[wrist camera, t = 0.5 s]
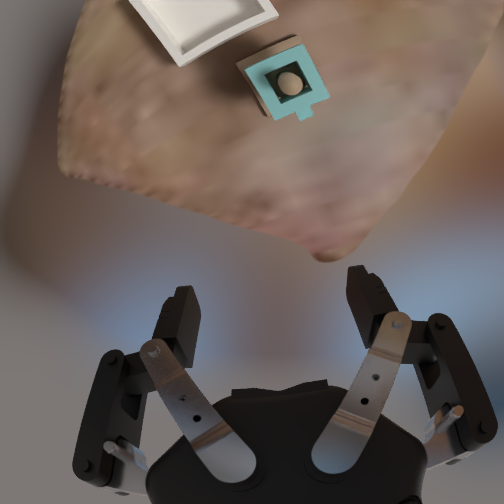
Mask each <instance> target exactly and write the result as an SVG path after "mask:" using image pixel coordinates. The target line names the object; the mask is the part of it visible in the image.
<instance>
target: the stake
mask: <svg viewBox="0 0 504 504" xmlns="http://www.w3.org/2000/svg"><path fill="white" fill-rule="evenodd" d="M299 44H303V43H302V41H301V39H300V37H299V36H298V35H297V36H295V37H292V38H290V39H287V40H285V41H282V42H280V43H277V44H275V45H273V46H271V47H268V48H266V49H264V50H262V51H260V52H257V53H255V54H253V55H251V56H249V57H247V58H245V59H243V60H241V61H239V62H237V63H235V64H236V65H237V67H238V68H239V70H240V72H241V73H242V75H243V76H244V78H245V79H246V81H247V83H248V84H249V86H250V87H251V89H252V91H253V92H254V94H255V96H256V97H257V99H258V101H259V102H260V104H261V106H262V107H263V109H264V111H265V112H266V114H267V116H268V118H270V117H272V115H271V113H270V111H269V109H268V108H267V106H266V104H265V102H264V101H263V99H262V97H261V96H260V94H259V92H258V91H257V89H256V87H255V86H254V84H253V83H252V81H251V79H250V78H249V76H248V75H247V73H246V71H245V69H246V68H247V67H249V66H251V65H253V64H255V63H257V62H259V61H261V60H264V59H266V58H268V57H270V56H272V55H275V54H277V53H279V52H282V51H284V50H286V49H289V48H291V47H294V46H296V45H299ZM303 45H304V44H303ZM304 47H305V46H304ZM305 49H306V48H305ZM307 52H308V51H307ZM308 54H309V53H308ZM309 56H310V55H309ZM310 58H311V57H310ZM314 65H315V64H314ZM315 67H316V66H315ZM316 69H317V68H316ZM317 71H318V70H317ZM318 73H319V72H318ZM319 75H320V74H319ZM265 76H266V78H267V79H268V81H269V83H270V84H271V86H272V88H273V90H274V91H275V93H276V95H277V97H278V98H279V99H280V98H282V97H284V96H287V95H296V94H298V93H299V92H300V91H301V90H302V89H303V88H305V87H308V86H307V84H306V82H305V80H304V79H303V77H302V75H301V73H300V71H299V69H298V67H297V66H296V64H295V62H292V63H289V64H287V65H285V66H282V67H280V68H278V69H275V70H273V71H271V72H269V73H267V74H265ZM320 77H321V76H320ZM321 79H322V78H321ZM322 81H323V80H322ZM323 83H324V82H323ZM324 85H325V84H324ZM325 87H326V86H325ZM326 89H327V88H326ZM327 91H328V90H327Z"/></svg>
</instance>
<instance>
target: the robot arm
mask: <svg viewBox="0 0 504 504" xmlns="http://www.w3.org/2000/svg"><path fill="white" fill-rule="evenodd" d="M346 296H347V301H348V304H349V306H350V308H351V311H352V314H353V316H354V319H355V322H356V324H357V327H358V329H359V332H360V335H361V338H362V340H363V343H364V346H365V348H366V349H368V348H370V349H369V351H368V353H367V355H366V357H365V359H364V361H363V363H362V365H361V367H360V369H359V371H358V373H357V375H356V377H355V379H354V381H353V383H352V385H351V386H350V388H349V390H346V389H343V388H340V387H337V386H328V383H327V379H326V380H319V381H312V382H306V383H302V384H299V385H296V386H294V387H291V388H288V389H285V390H282V391H273V390H265V389H258V388H248V389H232V393H231V396H229V397H226V398H224V399H222V400H220V401H218V402H216V403H215V404H213V405H211V404H210V402H209V401H208V400H207V399H206V397H205V396H204V395H203V393H202V392H201V391H200V390H199V388H198V387H197V386H196V384H195V383H194V382H193V380H192V379H191V377H190V376H189V375H188V373H187V372H186V371H185V368H192V366H193V360H194V353H195V348H196V342H197V336H198V331H199V325H200V320H201V311H200V306H199V303H198V300H197V298H196V295H195V292H194V289H193V287H192V286H191V285H190V286H179V287H177V288H176V291H175V294H174V297H169V298H168V299H167V300H166V301H165V303H164V304H163V306H162V309H161V313H160V315H159V319H158V321H157V324H156V327H155V330H154V333H153V336H152V339H151V340H149V341H147V342H146V343H144V344H143V345H142V347H141V349H140V351H139V352H136V353H133V354H129V355H124V354H123V353H122V351H120V350H116V349H115V350H110V351H108V352H107V353H105V354H104V355H103V357H102V358H101V360H100V363H99V366H98V369H97V372H96V375H95V379H94V382H93V384H92V388H91V391H90V394H89V398H88V401H87V404H86V408H85V412H84V416H83V419H82V423H81V427H80V431H79V435H78V439H77V443H76V448H75V453H74V457H73V463H72V467H73V471H74V473H75V475H76V476H77V477H78V478H79V479H81V480H83V481H85V482H87V483H90V484H92V485H93V486H95V487H98V488H100V489H103V490H105V491H108V492H112V493H116V494H119V495H123V496H125V495H129V494H135V495H140V496H145V497H149V499H150V501H151V503H152V504H422V499H421V490H422V483H423V479H424V475H425V472H426V471H427V470H430V469H432V468H435V467H437V466H440V465H442V464H448V465H452V464H455V463H457V462H459V461H461V460H462V459H464V458H466V457H467V456H469V455H470V454H472V453H473V452H475V451H476V450H478V449H480V448H481V447H483V446H484V445H486V444H487V443H488V442H490V441H491V440H492V439H493V438H494V437H495V435H496V433H497V429H498V422H497V419H496V416H495V413H494V410H493V408H492V405H491V402H490V400H489V397H488V394H487V392H486V389H485V387H484V385H483V382H482V380H481V378H480V375H479V373H478V371H477V369H476V366H475V364H474V362H473V360H472V358H471V356H470V354H469V352H468V350H467V348H466V346H465V344H464V342H463V340H462V338H461V336H460V334H459V332H458V331H457V329H456V327H455V325H454V324H453V322H452V320H451V319H450V318H449V317H448V316H447V315H444V314H441V313H435V314H433V315H431V316H430V317H429V319H428V321H413V320H411V319H410V317H409V316H408V315H407V314H405V313H403V312H399V310H398V308H397V307H396V305H395V303H394V301H393V299H392V298H391V296H390V294H389V292H388V291H387V289H386V287H384V284H383V282H382V280H381V279H380V278H379V277H378V276H376V275H375V274H374V273H370V274H368V273H367V271H366V270H365V267H364V266H363V265H357V266H351V267H349V268H348V274H347V286H346ZM400 364H413V366H414V368H415V371H416V374H417V377H418V380H419V383H420V386H421V389H422V392H423V395H424V398H425V401H426V404H427V407H428V411H429V415H430V418H431V419H430V420H429V421H428V422H427V424H426V426H425V431H424V432H425V439H424V443H423V444H422V443H421V442H420V440H419V439H417V438H416V437H414V436H413V435H411V434H410V433H408V432H407V431H405V430H404V429H403V428H401V427H400V426H398V425H397V424H395V423H394V422H392V421H391V420H390V419H388V418H387V417H385V416H384V415H383V414H381V412H382V409H383V407H384V405H385V402H386V400H387V398H388V395H389V393H390V391H391V388H392V386H393V383H394V380H395V378H396V375H397V373H398V370H399V367H400ZM156 390H157V392H158V393H159V395H160V397H161V398H162V400H163V402H164V404H165V405H166V407H167V409H168V410H169V412H170V414H171V415H172V416H173V418H174V420H175V421H176V423H177V425H178V426H179V428H180V429H181V431H182V432H183V434H184V435H183V436H182V437H181V438H180V439H179V440H178V441H177V442H175V444H173V445H172V447H170V448H169V449H168V450H167V451H166V452H165V453H164V454H163V455H162V456H161V457H160V458H159V459H158V460H157V461H156V462H155V463H154V464H153V465H152V466H151V467H150V469H149V470H148V468H147V465H146V457H145V455H144V453H143V452H142V451H141V450H140V449H139V445H140V438H141V431H142V424H143V418H144V411H145V405H146V399H147V394H148V392H152V391H156Z"/></svg>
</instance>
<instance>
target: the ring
mask: <svg viewBox="0 0 504 504" xmlns="http://www.w3.org/2000/svg"><path fill="white" fill-rule="evenodd" d="M292 62H295V64H296V66H297V67H298V69H299V71H300V73H301V75H302V77H303V79H304V80H305V82H306V84H307V86H308V87H305V88H303V89H302V90H301V91H300V92H299V93H298V94H296V95H287V96H284V97H282V98H280V99H279V98H278V97H277V95H276V93H275V91H274V90H273V88H272V86H271V84H270V83H269V81H268V79H267V78H266V76H265V74H267V73H269V72H271V71H273V70H275V69H278V68H280V67H282V66H285V65H287V64H289V63H292ZM245 71H246V73H247V75H248V76H249V78H250V79H251V81H252V83H253V84H254V86H255V87H256V89H257V91H258V92H259V94H260V96H261V97H262V99H263V101H264V102H265V104H266V106H267V108H268V109H269V111H270V113H271V115H272V116H273V118H274V120H275V121H276V120H278V119H280V118H282V117H285V116H287V115H289V114H291V113H294V112H296V114H297V116H298V118H299V120H300V121H302V120H304V119H306V118H309V117H311V116H313V115H314V114H313V112H312V110H311V108H310V105H312V104H315V103H317V102H320V101H322V100H325V99H327V98H330V95H329V93H328V91H327V89H326V87H325V85H324V83H323V81H322V79H321V77H320V75H319V73H318V71H317V69H316V67H315V65H314V63H313V61H312V59H311V58H310V56H309V54H308V52H307V50H306V49H305V47H304V45H303V44H299V45H296V46H294V47H291V48H289V49H286V50H284V51H282V52H279V53H277V54H275V55H272V56H270V57H268V58H266V59H264V60H261V61H259V62H257V63H255V64H253V65H251V66H249V67H247V68H246V69H245Z"/></svg>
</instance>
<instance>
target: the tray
mask: <svg viewBox="0 0 504 504" xmlns="http://www.w3.org/2000/svg"><path fill="white" fill-rule="evenodd" d="M129 1H130V3H131V4H132V5H133V6H134V8H135V9H136V10H137V11H138V13H139V14H140V15H141V17H142V18H143V19H144V20H145V22H146V23H147V24H148V26H149V27H150V28H151V30H152V31H153V32H154V33H155V35H156V36H157V37H158V39H159V40H160V41H161V43H162V44H163V45H164V47H165V48H166V49H167V51H168V52H169V54H170V55H171V56H172V58H173V59H174V60H175V62H176V63H177V65H178V66H179V67H182V66H186V65H188V64H189V63H191V62H192V61H194V60H196V59H197V58H199V57H201V56H202V55H204V54H206V53H207V52H209V51H211V50H212V49H214V48H216V47H218V46H220V45H221V44H223V43H225V42H227V41H229V40H231V39H233V38H235V37H237V36H239V35H241V34H243V33H245V32H247V31H249V30H251V29H253V28H255V27H258V26H260V25H262V24H265V23H267V22H269V21H272V20H274V19H276V18H277V17H278V16H279V14H278V13H277V11H276V10H275V8H274V7H273V5H272V4H271V2H270V1H269V0H129Z"/></svg>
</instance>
